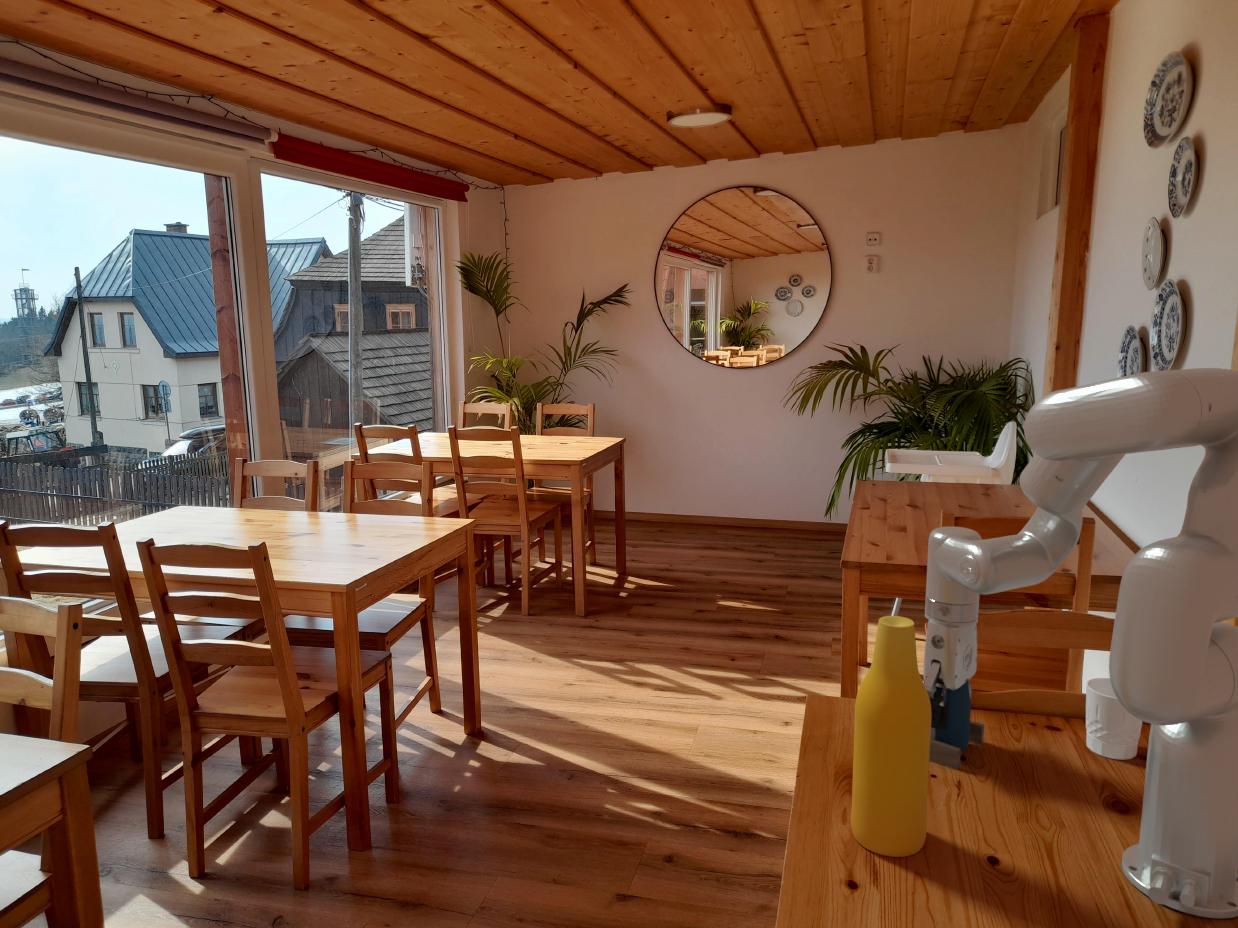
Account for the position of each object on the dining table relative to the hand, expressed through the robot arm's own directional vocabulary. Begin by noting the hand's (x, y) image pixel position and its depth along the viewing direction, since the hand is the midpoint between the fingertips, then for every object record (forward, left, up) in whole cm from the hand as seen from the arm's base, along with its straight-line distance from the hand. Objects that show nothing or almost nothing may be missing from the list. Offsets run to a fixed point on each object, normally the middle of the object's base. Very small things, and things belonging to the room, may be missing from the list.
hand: (945, 717), depth 130 cm
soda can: (0, 0, -5) cm, 5 cm away
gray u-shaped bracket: (0, 0, -5) cm, 5 cm away
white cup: (+16, -20, -5) cm, 26 cm away
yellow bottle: (-28, -4, -5) cm, 29 cm away
